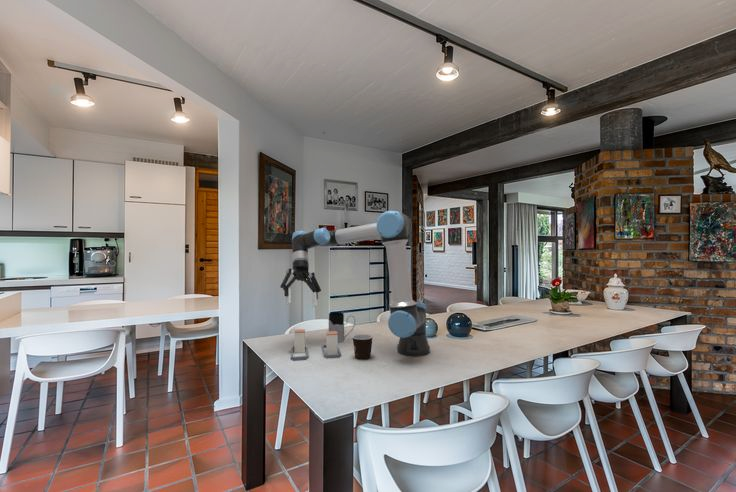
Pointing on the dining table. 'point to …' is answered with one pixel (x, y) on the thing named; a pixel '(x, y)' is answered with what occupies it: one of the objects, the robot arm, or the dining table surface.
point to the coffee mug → (362, 346)
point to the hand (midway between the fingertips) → (301, 304)
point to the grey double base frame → (308, 355)
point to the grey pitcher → (338, 325)
